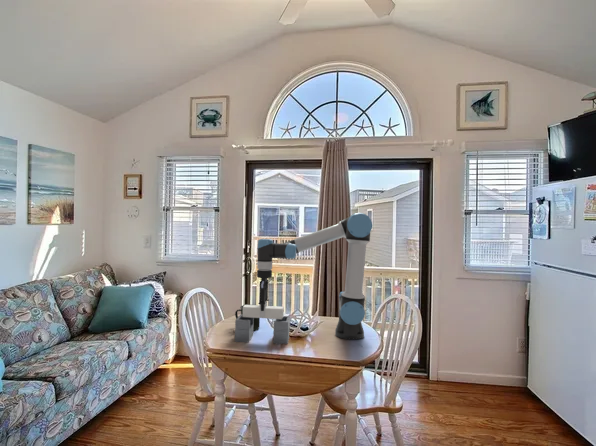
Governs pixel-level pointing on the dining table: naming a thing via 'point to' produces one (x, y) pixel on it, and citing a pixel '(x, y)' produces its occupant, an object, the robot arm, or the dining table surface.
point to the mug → (256, 320)
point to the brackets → (246, 329)
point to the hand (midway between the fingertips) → (263, 315)
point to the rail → (270, 311)
